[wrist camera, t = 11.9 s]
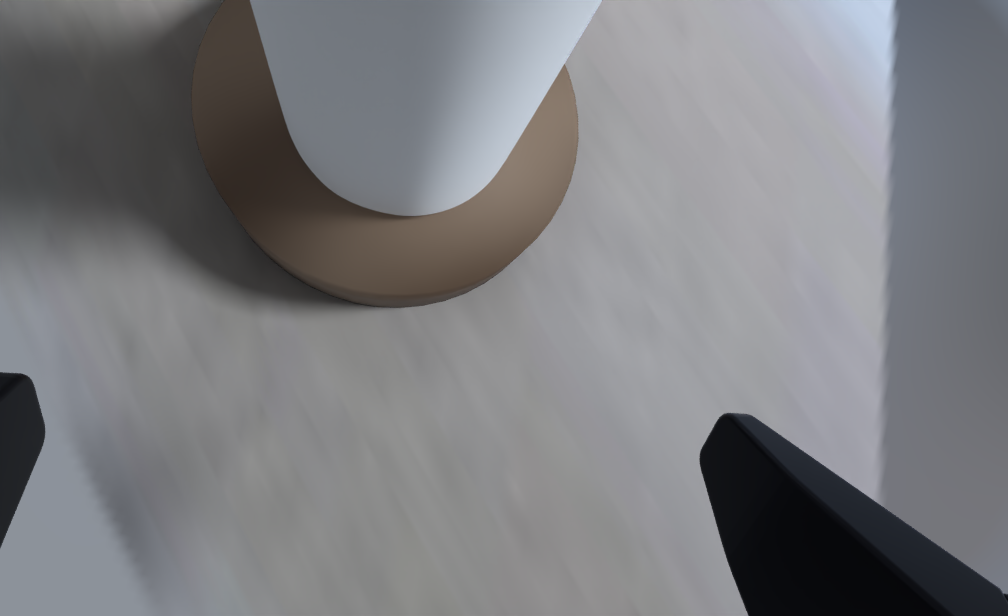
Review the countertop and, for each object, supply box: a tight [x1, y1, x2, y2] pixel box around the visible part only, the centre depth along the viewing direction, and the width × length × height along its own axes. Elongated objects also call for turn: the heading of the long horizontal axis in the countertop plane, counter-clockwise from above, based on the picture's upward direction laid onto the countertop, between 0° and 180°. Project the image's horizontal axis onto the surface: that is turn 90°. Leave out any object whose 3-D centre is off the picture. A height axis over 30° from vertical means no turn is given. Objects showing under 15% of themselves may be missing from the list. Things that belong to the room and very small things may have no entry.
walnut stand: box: [191, 0, 578, 308], centre depth 18 cm, size 11×11×2 cm
